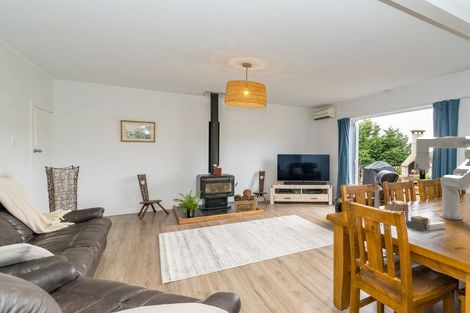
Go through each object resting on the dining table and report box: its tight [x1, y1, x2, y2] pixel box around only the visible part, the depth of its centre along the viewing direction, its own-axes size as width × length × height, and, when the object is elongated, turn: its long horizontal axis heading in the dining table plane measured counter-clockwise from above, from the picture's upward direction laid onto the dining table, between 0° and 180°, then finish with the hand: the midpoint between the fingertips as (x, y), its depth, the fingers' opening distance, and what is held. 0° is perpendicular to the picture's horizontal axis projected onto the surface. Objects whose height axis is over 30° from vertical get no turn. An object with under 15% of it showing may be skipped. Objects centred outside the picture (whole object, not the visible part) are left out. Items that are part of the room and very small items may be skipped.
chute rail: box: [425, 221, 446, 231], centre depth 150 cm, size 14×2×4 cm, turn 107°
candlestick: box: [373, 180, 380, 210], centre depth 164 cm, size 13×13×30 cm
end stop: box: [405, 219, 425, 232], centre depth 151 cm, size 2×10×4 cm, turn 17°
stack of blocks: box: [386, 200, 410, 220], centre depth 178 cm, size 21×6×12 cm, turn 166°
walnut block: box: [410, 215, 429, 230], centre depth 152 cm, size 7×6×7 cm
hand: (422, 179), depth 173 cm, fingers closed
